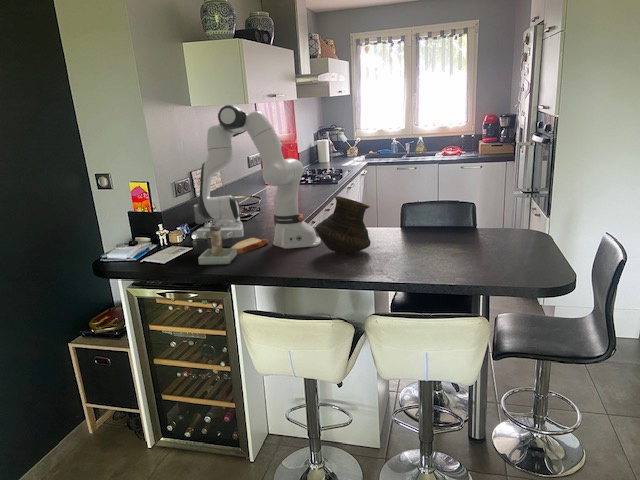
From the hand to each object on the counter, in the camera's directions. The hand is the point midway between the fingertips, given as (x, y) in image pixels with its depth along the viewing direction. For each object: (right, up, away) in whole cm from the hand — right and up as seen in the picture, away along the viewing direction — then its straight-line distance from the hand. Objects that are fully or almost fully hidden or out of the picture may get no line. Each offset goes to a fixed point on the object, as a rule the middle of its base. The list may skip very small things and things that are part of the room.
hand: (215, 236), depth 205 cm
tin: (-6, +4, +56) cm, 56 cm away
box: (+1, -10, +4) cm, 10 cm away
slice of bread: (+12, -5, +19) cm, 23 cm away
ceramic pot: (+55, -8, +3) cm, 55 cm away
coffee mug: (-21, +9, +77) cm, 80 cm away
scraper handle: (0, -9, +3) cm, 10 cm away
